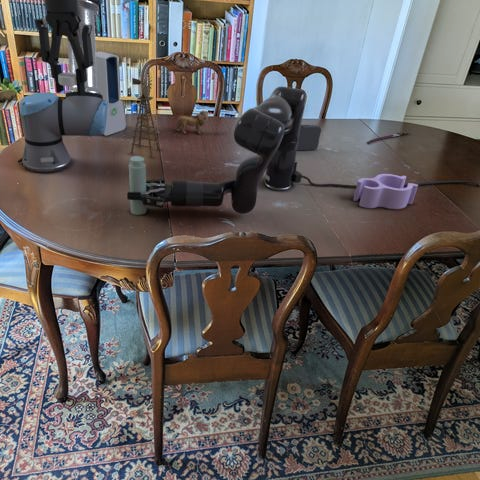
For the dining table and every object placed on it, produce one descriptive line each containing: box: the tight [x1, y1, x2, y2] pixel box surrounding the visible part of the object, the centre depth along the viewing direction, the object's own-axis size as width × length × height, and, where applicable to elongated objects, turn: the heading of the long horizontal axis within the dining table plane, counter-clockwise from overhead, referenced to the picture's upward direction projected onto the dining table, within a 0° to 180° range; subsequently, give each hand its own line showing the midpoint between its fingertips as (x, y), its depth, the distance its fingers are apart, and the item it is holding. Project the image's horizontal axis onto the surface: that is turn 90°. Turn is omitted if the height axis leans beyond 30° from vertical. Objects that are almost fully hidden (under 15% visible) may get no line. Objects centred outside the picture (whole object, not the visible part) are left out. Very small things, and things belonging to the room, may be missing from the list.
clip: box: [352, 173, 419, 210], centre depth 157 cm, size 20×12×7 cm, turn 109°
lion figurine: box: [173, 110, 209, 135], centre depth 195 cm, size 15×5×9 cm, turn 110°
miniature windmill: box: [130, 70, 160, 158], centre depth 168 cm, size 9×8×30 cm
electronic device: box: [96, 51, 127, 137], centre depth 182 cm, size 12×8×30 cm, turn 148°
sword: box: [367, 132, 410, 144], centre depth 214 cm, size 31×3×1 cm, turn 126°
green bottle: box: [128, 155, 148, 216], centre depth 134 cm, size 5×5×17 cm
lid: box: [58, 71, 77, 87], centre depth 120 cm, size 5×5×2 cm
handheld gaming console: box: [297, 124, 322, 151], centre depth 189 cm, size 23×3×10 cm, turn 108°
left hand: (70, 92), depth 122 cm, fingers closed on lid, 5 cm apart
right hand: (128, 191), depth 135 cm, fingers closed on green bottle, 4 cm apart
